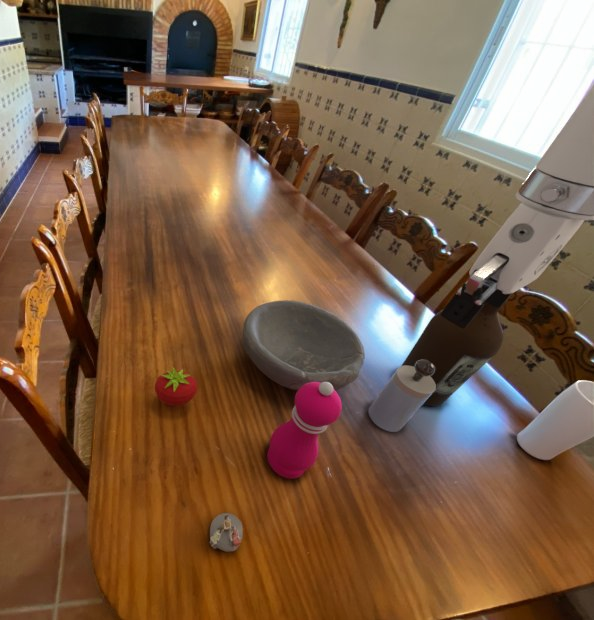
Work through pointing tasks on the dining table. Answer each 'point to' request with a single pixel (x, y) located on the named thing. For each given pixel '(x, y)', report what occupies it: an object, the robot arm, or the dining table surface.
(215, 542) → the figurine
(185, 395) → the red tomato
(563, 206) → the robot arm
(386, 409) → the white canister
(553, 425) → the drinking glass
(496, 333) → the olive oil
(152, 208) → the dining table surface
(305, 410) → the pepper mill
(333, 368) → the bowl
